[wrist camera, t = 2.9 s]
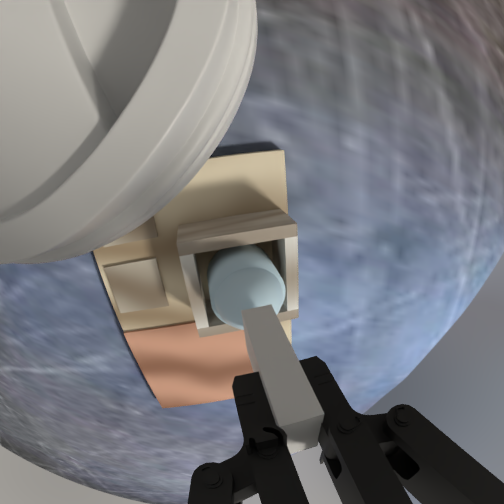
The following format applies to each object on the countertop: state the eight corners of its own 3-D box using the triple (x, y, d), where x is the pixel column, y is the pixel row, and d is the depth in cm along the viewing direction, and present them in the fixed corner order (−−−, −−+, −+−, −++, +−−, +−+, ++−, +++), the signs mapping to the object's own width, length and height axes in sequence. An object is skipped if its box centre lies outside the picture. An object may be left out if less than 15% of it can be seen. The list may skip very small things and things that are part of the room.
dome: (201, 249, 18) (206, 289, 13) (269, 237, 18) (295, 272, 14) (212, 305, 19) (221, 353, 15) (273, 294, 20) (295, 337, 16)
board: (80, 184, 16) (56, 198, 13) (280, 149, 18) (302, 154, 15) (162, 401, 26) (162, 430, 23) (288, 378, 28) (300, 406, 25)
